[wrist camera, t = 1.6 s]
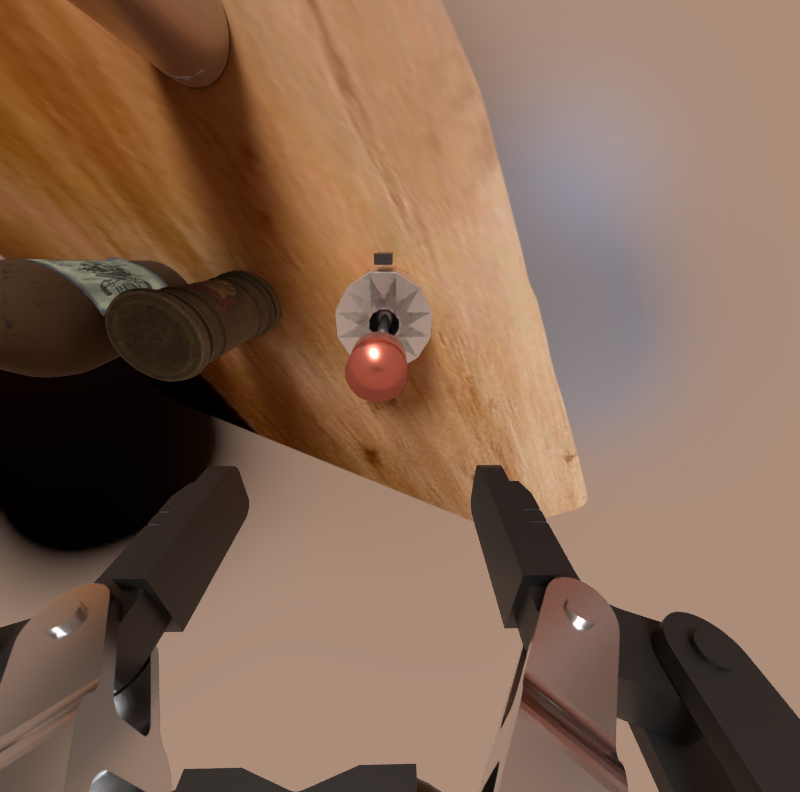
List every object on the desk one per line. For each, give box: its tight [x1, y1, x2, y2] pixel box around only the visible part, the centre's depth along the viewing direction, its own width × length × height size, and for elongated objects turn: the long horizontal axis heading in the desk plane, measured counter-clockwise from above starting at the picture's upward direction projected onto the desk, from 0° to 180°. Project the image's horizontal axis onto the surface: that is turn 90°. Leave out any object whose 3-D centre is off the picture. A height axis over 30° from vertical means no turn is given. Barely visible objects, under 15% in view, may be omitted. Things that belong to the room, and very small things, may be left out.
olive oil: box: [0, 258, 187, 377], centre depth 29 cm, size 11×11×25 cm
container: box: [105, 271, 280, 381], centre depth 33 cm, size 9×9×18 cm
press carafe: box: [335, 252, 432, 363], centre depth 35 cm, size 12×10×13 cm
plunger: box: [345, 309, 408, 402], centre depth 26 cm, size 7×7×17 cm
